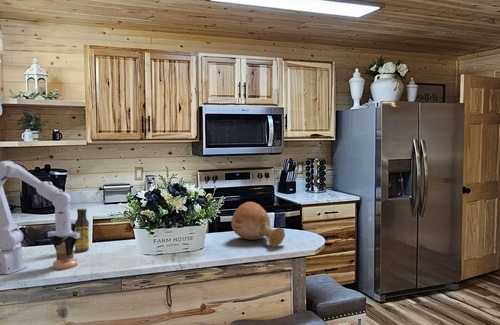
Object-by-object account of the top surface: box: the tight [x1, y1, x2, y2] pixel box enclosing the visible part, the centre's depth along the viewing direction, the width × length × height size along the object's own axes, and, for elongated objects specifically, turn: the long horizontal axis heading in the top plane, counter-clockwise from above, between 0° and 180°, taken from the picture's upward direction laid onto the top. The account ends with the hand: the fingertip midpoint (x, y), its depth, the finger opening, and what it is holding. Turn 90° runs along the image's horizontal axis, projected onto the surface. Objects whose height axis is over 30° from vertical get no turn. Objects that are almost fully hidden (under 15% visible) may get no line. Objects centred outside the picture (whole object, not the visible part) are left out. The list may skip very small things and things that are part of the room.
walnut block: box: [55, 242, 74, 261], centre depth 163 cm, size 4×4×6 cm
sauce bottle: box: [74, 207, 90, 253], centre depth 186 cm, size 6×6×20 cm
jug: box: [230, 201, 286, 247], centre depth 197 cm, size 20×19×30 cm
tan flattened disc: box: [52, 258, 78, 271], centre depth 164 cm, size 9×9×2 cm
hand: (64, 254), depth 163 cm, fingers closed on walnut block, 4 cm apart
